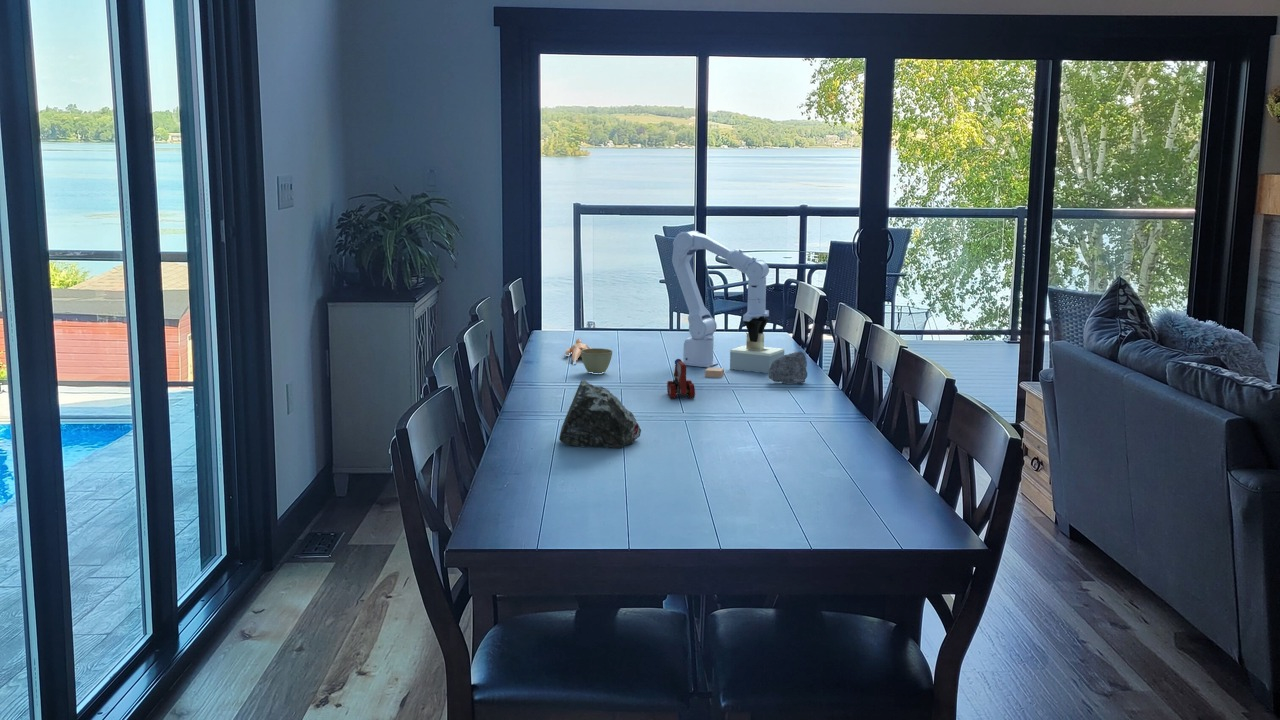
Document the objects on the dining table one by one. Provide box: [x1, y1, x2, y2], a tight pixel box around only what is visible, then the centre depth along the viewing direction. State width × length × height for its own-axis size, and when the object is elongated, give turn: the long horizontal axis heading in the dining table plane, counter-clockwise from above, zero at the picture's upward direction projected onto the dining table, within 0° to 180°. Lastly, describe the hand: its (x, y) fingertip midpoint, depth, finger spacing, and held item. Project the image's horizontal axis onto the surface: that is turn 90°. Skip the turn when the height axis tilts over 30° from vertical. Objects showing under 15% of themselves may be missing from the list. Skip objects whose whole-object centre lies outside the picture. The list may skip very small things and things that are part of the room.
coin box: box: [729, 344, 785, 374], centre depth 351 cm, size 14×11×6 cm
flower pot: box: [580, 347, 613, 373], centre depth 341 cm, size 10×10×7 cm
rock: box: [767, 350, 808, 384], centre depth 328 cm, size 12×5×10 cm, turn 87°
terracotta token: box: [704, 366, 725, 379], centre depth 339 cm, size 5×5×2 cm
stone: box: [558, 379, 642, 449], centre depth 255 cm, size 19×18×15 cm
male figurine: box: [564, 338, 591, 362], centre depth 368 cm, size 11×5×25 cm
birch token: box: [745, 332, 765, 350], centre depth 348 cm, size 5×2×5 cm, turn 57°
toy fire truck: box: [666, 358, 696, 400], centre depth 308 cm, size 7×12×10 cm, turn 6°
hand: (755, 341), depth 348 cm, fingers closed on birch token, 2 cm apart
